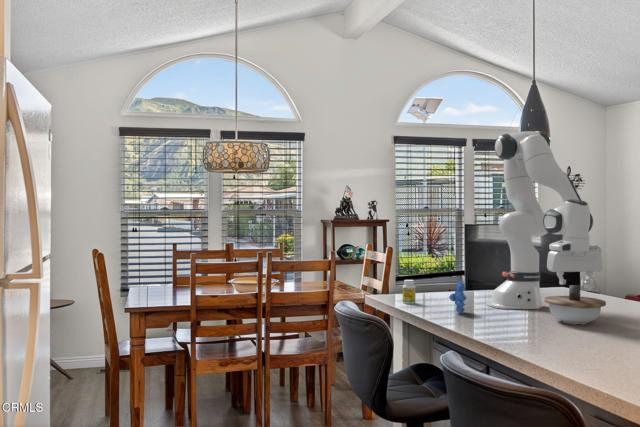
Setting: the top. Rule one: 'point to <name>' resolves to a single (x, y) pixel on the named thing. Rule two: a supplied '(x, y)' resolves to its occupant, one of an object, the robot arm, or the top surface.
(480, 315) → the top surface
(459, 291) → the grapes
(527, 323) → the top surface
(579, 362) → the top surface
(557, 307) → the cereal bowl
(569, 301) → the lid
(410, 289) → the supplement bottle
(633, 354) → the top surface
